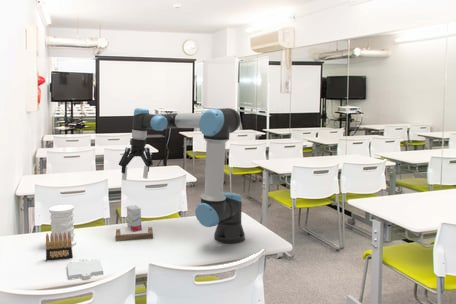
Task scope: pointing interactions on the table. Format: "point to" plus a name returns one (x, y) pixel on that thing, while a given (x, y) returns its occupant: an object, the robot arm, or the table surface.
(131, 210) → the ink box
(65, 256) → the ammunition clip
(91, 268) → the mounting plate
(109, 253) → the table surface
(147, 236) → the walnut bay
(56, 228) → the decorative container
